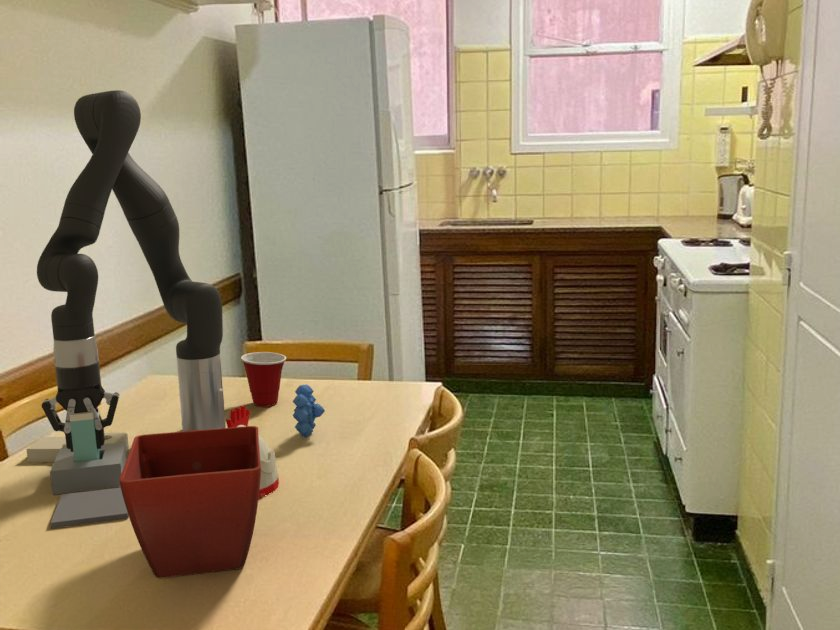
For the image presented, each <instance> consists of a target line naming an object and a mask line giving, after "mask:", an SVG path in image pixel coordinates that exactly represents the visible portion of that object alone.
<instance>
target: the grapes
mask: <svg viewBox="0 0 840 630" xmlns="http://www.w3.org/2000/svg"><path fill="white" fill-rule="evenodd" d="M314 391H315V390H314V389H313V388H312V387H311V386H310V385H309V384H301V385H299V386H298V387H297V388H296V390H295V391H294V392H295V394H296V396H295V397H294V399H293V400H292V403H293V404H294V405H295V406H296V407H295V408H294V409H293V414H292V417H293V418H294V419H295V420H296V422H297V423H296V424H295V426H294V428H295V430H296V431H297V432H298V433H299V434H300V436H302V438H309V437H310V436H311V435H312V433H314V428H315V427H316V426H317V425H316V423H315V421H316V418H320V417H321V416H322V415H323V414H324V413H325V411H326V410H325V409H324V407H323V406H322V405H321V404H319V403H316V401H317V399H316V398H315V396H314V395H313V393H314Z"/></svg>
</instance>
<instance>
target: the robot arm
mask: <svg viewBox="0 0 840 630" xmlns="http://www.w3.org/2000/svg"><path fill="white" fill-rule="evenodd" d="M141 114H142V113H141V108H140V106H139V103H138V102H137V100H136V98H135V97H134V96H132V94H130V93H129V92H127V91H125V90H107V91H102V92H101V91H100V92H95V93H90V94H86V95H82V96H81V97H79V98H78V99H77V101H76V102H75V104H74V108H73V116H74V122H75V125H76V128H77V130H78V133H80V135H81V136H80V137H81V138H82V139H83V141H84V143H85V144H86V146H87V147H88V149H89V151H90V153H91V156H90V159H89V160H88V162H87V164H86V165H85V167H84V168H83V169H82V171H81V172H80V173H79V174H78V176H77V178H76V179H75V181H74V182H73V184H72V185H71V187H70V188H69V191H68V192H67V195H66V198H65V201H64V203H63V204H64V205H63V207H62V212H61V215H60V219H59V223H58V226H57V228H56V229H55V231H54V233H52V235H51V237H50V238H49V240H48V242H47V243H46V245H45V247H44V248H43V251H42V253H41V255H40V256H39V258H38V261H37V265H36V277H37V280H38V283H39V285H40V286H41V287H42V288H43V289H45V290H47V291H50V292H58V293H60V292H61V293H63V292H64V293H67V294H66V300H65V303H64V304H61V305H58V306H56V307H54V308H53V309H52V311H51V315H50V316H51V328H52V336H53V349H52V350H53V362H54V368H55V375H56V376H55V377H56V385H57V392H56V394H55V397H54V396H53V397H52V398H46V399H44V400H43V402H42V403H41V408H42V410H43V412H44V414H45V416H46V418H47V419H48V422H49V424H50V425H51V427H52V430H53V431H54V432H61V433H62V432H63V434H64V435H65V436H64V437H65V438H66V447H67V448H68V449H71V452H73V443H72V434H71V425H70V416H69V415H72V414H74V413H83V412H88V413H93V419H94V425H95V428H96V430H95V434H96V444H97V449H101V447H102V445H104V442H105V436H104V433H105V428H106V427H110V426H112V424H113V421H114V418H115V414H116V410H117V405H118V404H119V403H118V402H119V399H120V393H119V392H114V393H111V392H106V390H105V389H104V388H103V386H102V380H101V370H100V369H101V368H100V360H99V349H98V345H97V340H96V335H95V326H94V317H93V312H94V307H95V302H96V295H97V290H98V284H99V271H98V270H99V269H98V267H97V265H96V263H95V261H94V260H93V258H91V256H89V255H88V254H85V253H84V254H83V253H79V252H80V250H81V249H83V248H86V247H88V246H91V245H93V244H95V243H96V242H97V240H98V237H99V236H100V231H101V228H102V225H103V221H104V217H105V213H106V210H107V205H108V201H109V199H110V196H111V192H113V194H114V195H115V198H116V200H117V202H118V204H119V206H120V207H121V210H122V212H123V215H124V217H125V219H126V221H127V224H128V226H129V228H130V229H131V231H132V234H133V235H134V238H135V239H136V241H137V243H138V245H139V247H140V250H141V251H142V253H143V256H144V258H145V260H146V262H147V265H148V267H149V268H150V271H151V273H152V276H153V278H154V281H155V284H156V287H157V289H158V292H159V295H160V298H161V302H162V304H163V306H164V308H165V310H166V312H167V314H168V315H169V316H170V318H171V319H172V320H174V321H176V322H178V323H181V324H185V325H186V338H185V339H183V340H180V341H178V342H177V344H176V346H175V351H176V352H175V353H176V366H177V377H178V391H179V403H180V404H179V405H180V415H181V427H182V428H181V429H182V431H195V430H207V429H219V428H227V424H226V413H225V399H224V388H223V377H222V376H223V375H222V360H221V346H222V345H221V344H222V342H223V337H224V336H223V335H224V332H223V331H224V330H223V329H224V328H223V324H224V323H223V302H222V298H221V297H222V296H221V295H220V292H219V290H218V289H217V287H216V286H214V285H213V284H210V283H207V282H201V281H200V282H199V281H193V280H192V279H191V278H190V276H189V274H188V273H187V271H186V269H185V266H184V265H183V262H182V260H181V257H180V256H181V255H180V248H179V247H180V225H179V224H180V223H179V220H178V217H177V214H176V212H175V210H174V208H173V206H172V204H171V202H170V199H169V197H168V195H167V194H166V192H165V191H164V188H162V187H161V185H160V184H159V183H157V181H156V180H154V179H153V178H152V177H151V176H150V175H149V174H148V173H147V172H146V171H145V170H144V169H143V168H142V167H141V166H139V164H138V163H137V162H136V161H135V160H134V158H133V157H132V156H131V154H130V153H129V151H130V150H131V147H132V145H133V143H134V141H135V138H136V136H137V134H138V132H139V128H140V125H141V120H142V116H141ZM104 399H105V402H106V404H107V405H108V411H107V414H106V418H102V416H101V412H100V409H99V405H100V404H101V402H102V401H103V400H104ZM57 403H58V404H59V406H61V407H62V408H63V409H64V410H65V412H66V414H65V415H66V416H65V422H62V421H61V419H60V415H59V414H58V413H57V411H56V409H57Z"/></svg>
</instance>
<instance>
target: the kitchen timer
mask: <svg viewBox="0 0 840 630" xmlns="http://www.w3.org/2000/svg"><path fill="white" fill-rule="evenodd" d="M229 413H230V414H229V418H225V424H226V428H232V427H244V426H249V421H250V414H251V410H250V409H246V406H245V405H240V407H235V408H234V410H233V409H232V410H231V409H230V412H229ZM259 448H260V460H261V479H260V490H259V499H261V498H260V497H262V498H264V497H263V496H265V495H267V496H269V495H270V494H269V493H271V492H272V493H274V492H275V491H276V490H277V489H278V488H279V485H280V482H279V470H278V466H277V461H276V460H277V459H276V454H275V451H274V450H273V449H272V450H271V449H270V448H269V446H268V445H267V443H266V441H265V440H264V438H263V437H262V436H261V435H260V434H259ZM273 491H274V492H273ZM272 493H271V494H272ZM268 494H269V495H268ZM265 497H266V496H265Z"/></svg>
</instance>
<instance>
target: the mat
mask: <svg viewBox="0 0 840 630" xmlns="http://www.w3.org/2000/svg"><path fill="white" fill-rule="evenodd" d="M128 519H129V515H128V512H127V509H126V505H125V502H124V499H123V495H122V491H121V487H114V488H106V489H97V490H89V491H80V492H72V493H63V494H60V497H59V500H58V503H57V505H56V508H55V510H54V513H53V516H52V518H51V520H50V521H51V522H50V529H57V528H58V529H59V528H66V527H72V526H73V527H74V526H82V525H89V524H97V523H104V522H105V523H106V522H113V521H121V520H128Z"/></svg>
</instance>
